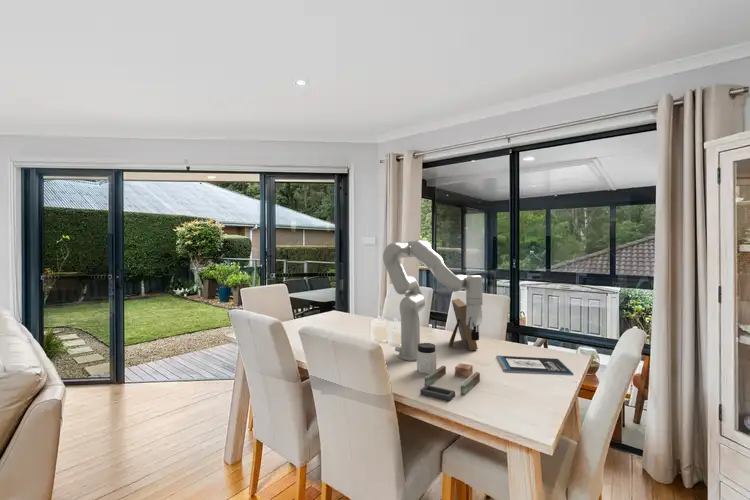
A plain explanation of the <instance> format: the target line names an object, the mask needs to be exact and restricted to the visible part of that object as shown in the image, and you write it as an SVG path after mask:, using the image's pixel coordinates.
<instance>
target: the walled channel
mask: <svg viewBox="0 0 750 500" xmlns="http://www.w3.org/2000/svg"><path fill="white" fill-rule="evenodd" d="M446 369H447V365H441V366H440V367H438V368H436V370H435V371H434V372H432V373H431V374H427V375H426V376H425V377H424V387H425V386H426V385H430V386H432V385H433V384H434V383H435V382H437V381H439V380H440V379H441V378H443V376H445V375H446V373H447V371H446ZM480 379H481V373H480V372H478V371H476V372H474V373H473V374H472V375H471V376H470V377H469V378H467V379H466V380H465V381H464V382H463V383H462V384H461V385H460V395H462V396H465V395H466V394H468V393H469V392H470V391H471V390H472V389H473V388H474V387H475V386H476V385H477V384H478V383H479V382H480V381H481V380H480Z"/></svg>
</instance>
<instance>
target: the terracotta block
mask: <svg viewBox="0 0 750 500" xmlns="http://www.w3.org/2000/svg"><path fill="white" fill-rule="evenodd" d="M473 366H474V365H473V364H468V363H462V362H459V363H457V364H456V365H455V366H454V375H455V376H457V377H463V378H467V379H469V378H470V377H471V376H472V375H473V374H474V373H473V372H474V371H473V368H474V367H473Z"/></svg>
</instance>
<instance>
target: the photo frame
mask: <svg viewBox="0 0 750 500" xmlns="http://www.w3.org/2000/svg"><path fill="white" fill-rule="evenodd" d="M451 304H452V307H453V311H454V315H455V319H456V324H455V326H454V329H453V332H452V334H451V336H450V339H449V343H448V349H450V348H452V347H453V346H454V342H455V338H456V335H457V331H459V336H460V339H461V342H462V343H464V345H465V347H466V348H467V349H468V350H469V351H470V352H471V351H475V350H478V344H477V341H476V340H472V339H471V329H470V325H469V326H467V325H466V309H467V305H466V303H465V302H464V301H462V300H461V299H460V298H456V299H452V300H451Z"/></svg>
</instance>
